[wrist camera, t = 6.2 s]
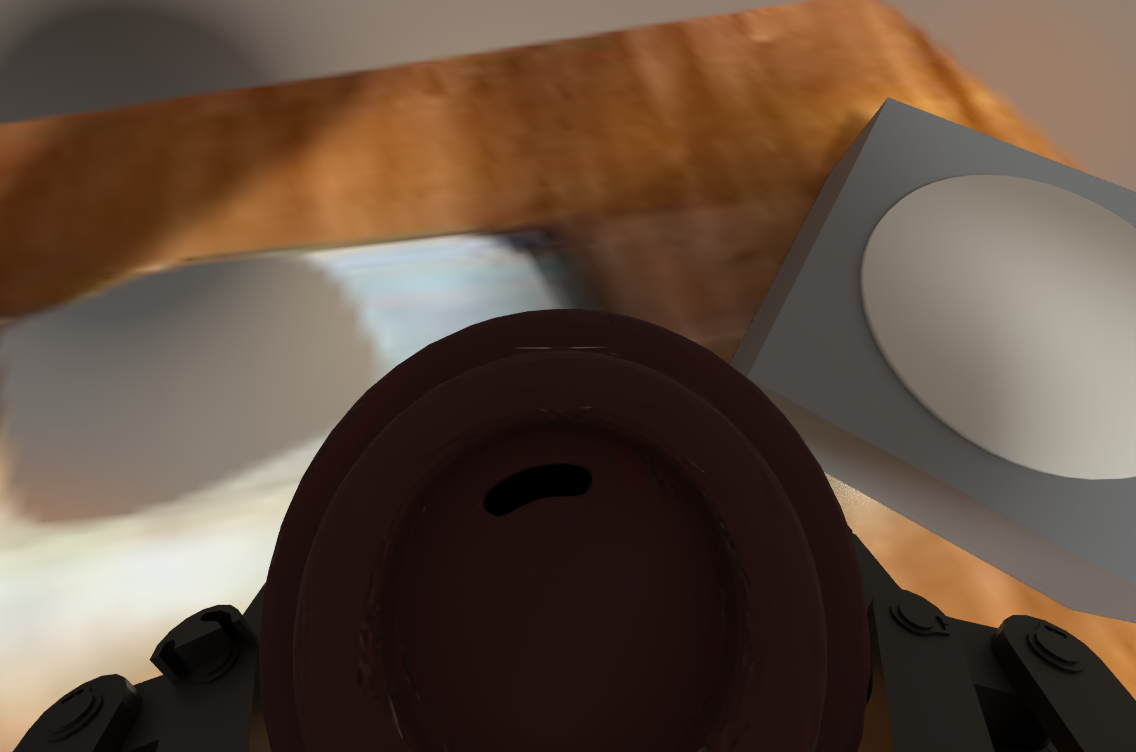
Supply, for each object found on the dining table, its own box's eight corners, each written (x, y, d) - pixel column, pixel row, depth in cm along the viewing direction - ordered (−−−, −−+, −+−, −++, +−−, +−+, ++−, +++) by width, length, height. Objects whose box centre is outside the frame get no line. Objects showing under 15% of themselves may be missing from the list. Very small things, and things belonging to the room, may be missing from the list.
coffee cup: (639, 686, 17) (947, 1541, 3) (432, 599, 18) (-54, 922, 4) (695, 465, 20) (991, 369, 6) (513, 402, 21) (388, 192, 7)
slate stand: (707, 406, 21) (749, 375, 16) (829, 173, 26) (892, 91, 21) (1071, 610, 18) (1266, 650, 13) (1136, 303, 23) (1298, 245, 18)
